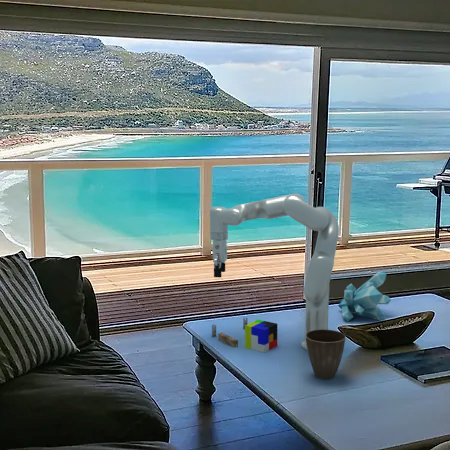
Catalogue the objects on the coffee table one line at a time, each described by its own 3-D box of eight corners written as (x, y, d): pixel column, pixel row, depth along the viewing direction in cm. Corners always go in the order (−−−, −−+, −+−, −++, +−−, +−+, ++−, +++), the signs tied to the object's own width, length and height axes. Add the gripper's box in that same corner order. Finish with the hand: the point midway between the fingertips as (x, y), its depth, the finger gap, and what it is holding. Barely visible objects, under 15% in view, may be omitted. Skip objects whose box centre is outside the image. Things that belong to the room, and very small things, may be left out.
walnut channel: (270, 338, 290) (270, 331, 289) (234, 347, 279) (234, 340, 278) (254, 331, 300) (254, 324, 299) (218, 339, 288) (218, 333, 288)
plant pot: (297, 372, 252) (298, 332, 249) (330, 365, 258) (331, 327, 255) (318, 386, 238) (318, 344, 236) (352, 379, 244) (353, 338, 241)
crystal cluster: (391, 327, 304) (390, 285, 299) (335, 326, 310) (334, 284, 306) (391, 310, 325) (390, 270, 320) (338, 309, 331) (337, 270, 326)
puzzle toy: (264, 352, 273) (264, 329, 271) (244, 347, 279) (244, 325, 277) (277, 346, 280) (277, 323, 279) (258, 341, 286) (258, 319, 285)
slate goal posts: (248, 328, 303) (248, 318, 302) (213, 337, 292) (213, 326, 291) (245, 327, 304) (245, 317, 304) (211, 336, 293) (210, 325, 292)
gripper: (224, 239, 272) (224, 279, 274) (230, 232, 288) (231, 270, 291) (206, 239, 273) (207, 279, 276) (214, 232, 290) (214, 269, 293)
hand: (219, 274), depth 283 cm, fingers open, 9 cm apart
